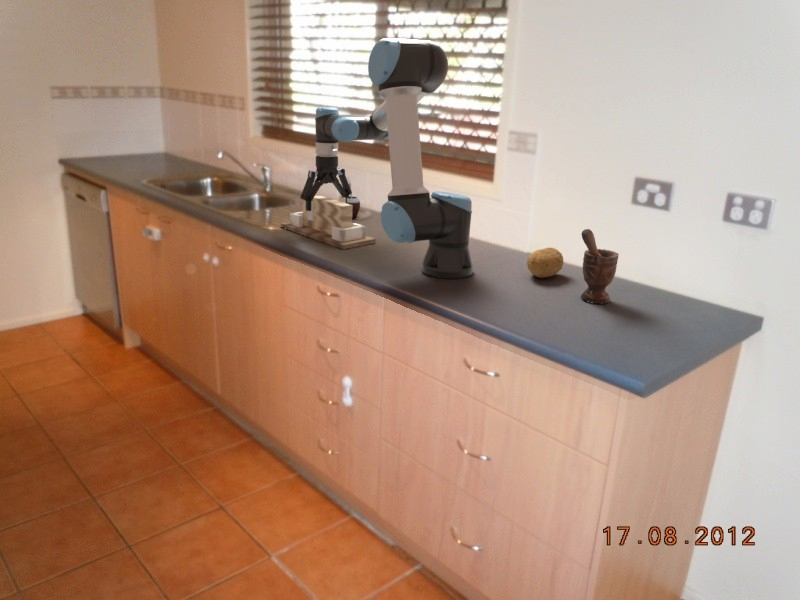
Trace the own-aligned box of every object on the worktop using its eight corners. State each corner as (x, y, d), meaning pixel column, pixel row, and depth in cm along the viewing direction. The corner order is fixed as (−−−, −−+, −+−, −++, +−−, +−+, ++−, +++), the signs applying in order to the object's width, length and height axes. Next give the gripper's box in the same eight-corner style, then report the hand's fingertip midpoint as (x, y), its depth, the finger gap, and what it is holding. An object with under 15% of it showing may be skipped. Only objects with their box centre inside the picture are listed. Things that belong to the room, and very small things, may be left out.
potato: (516, 278, 194) (518, 251, 191) (538, 268, 204) (541, 243, 201) (546, 285, 188) (549, 258, 185) (568, 275, 198) (571, 249, 196)
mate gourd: (352, 220, 254) (353, 181, 249) (336, 217, 258) (336, 179, 253) (363, 217, 260) (364, 179, 255) (347, 214, 264) (348, 176, 259)
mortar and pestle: (598, 310, 170) (610, 234, 163) (567, 302, 175) (577, 228, 168) (616, 300, 178) (627, 227, 172) (585, 292, 183) (595, 221, 177)
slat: (352, 237, 224) (352, 205, 220) (342, 239, 221) (342, 206, 218) (312, 223, 241) (312, 193, 237) (303, 224, 238) (302, 194, 235)
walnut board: (375, 243, 224) (375, 238, 224) (342, 249, 215) (343, 245, 214) (312, 222, 249) (312, 218, 248) (280, 227, 239) (280, 223, 239)
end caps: (365, 237, 224) (365, 226, 223) (342, 242, 218) (342, 230, 216) (312, 220, 245) (312, 210, 243) (290, 224, 238) (290, 213, 237)
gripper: (302, 158, 212) (303, 224, 219) (362, 154, 228) (361, 215, 235) (289, 156, 217) (290, 219, 224) (348, 151, 233) (348, 211, 240)
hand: (326, 217), depth 230 cm, fingers open, 13 cm apart
